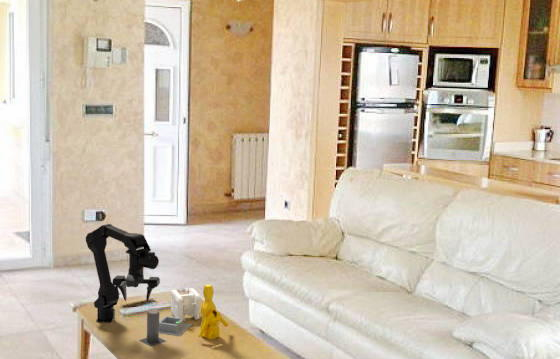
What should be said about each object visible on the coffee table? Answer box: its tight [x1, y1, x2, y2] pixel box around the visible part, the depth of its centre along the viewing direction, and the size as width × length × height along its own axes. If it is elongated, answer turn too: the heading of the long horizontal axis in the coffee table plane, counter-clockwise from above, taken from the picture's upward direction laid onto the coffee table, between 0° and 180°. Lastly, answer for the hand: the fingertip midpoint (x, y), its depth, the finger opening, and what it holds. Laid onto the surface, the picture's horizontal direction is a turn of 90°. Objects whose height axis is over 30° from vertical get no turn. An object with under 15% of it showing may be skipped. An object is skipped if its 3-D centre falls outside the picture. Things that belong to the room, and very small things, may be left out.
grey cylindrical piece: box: [146, 308, 160, 343], centre depth 275 cm, size 5×5×13 cm
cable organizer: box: [170, 287, 201, 321], centre depth 304 cm, size 15×11×12 cm
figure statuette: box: [198, 284, 229, 340], centre depth 283 cm, size 18×8×22 cm, turn 142°
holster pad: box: [138, 337, 167, 347], centre depth 276 cm, size 8×8×1 cm
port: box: [159, 315, 193, 337], centre depth 290 cm, size 14×14×4 cm
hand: (136, 301), depth 285 cm, fingers open, 9 cm apart
